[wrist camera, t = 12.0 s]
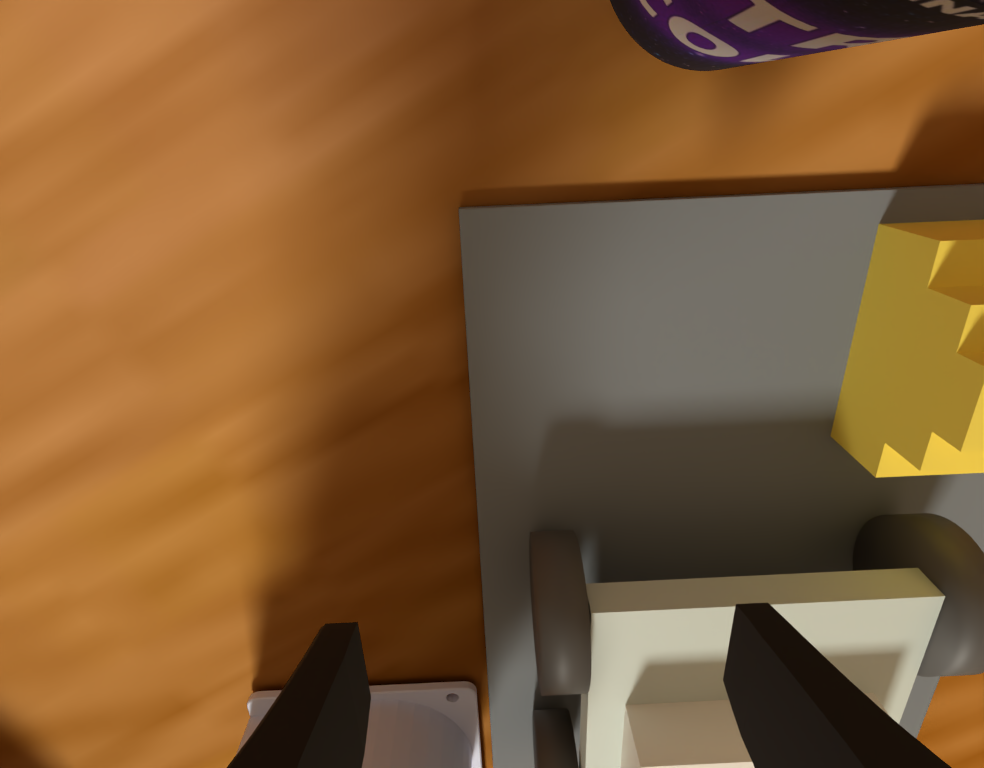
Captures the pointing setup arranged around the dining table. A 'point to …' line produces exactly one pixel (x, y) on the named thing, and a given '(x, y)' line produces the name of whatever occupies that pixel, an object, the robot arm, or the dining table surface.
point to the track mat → (674, 400)
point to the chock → (918, 354)
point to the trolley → (706, 634)
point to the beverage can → (780, 26)
